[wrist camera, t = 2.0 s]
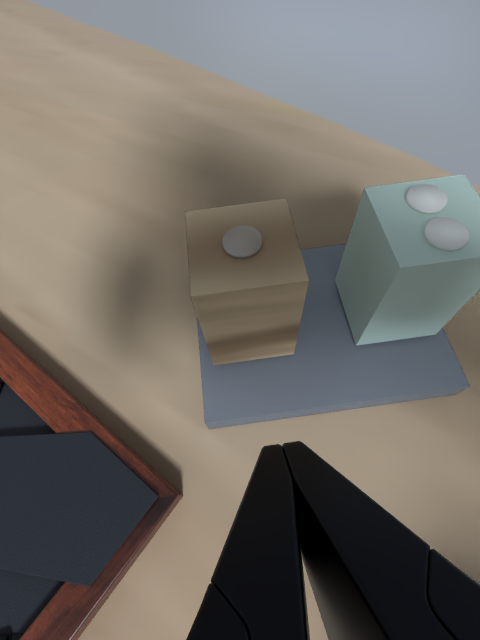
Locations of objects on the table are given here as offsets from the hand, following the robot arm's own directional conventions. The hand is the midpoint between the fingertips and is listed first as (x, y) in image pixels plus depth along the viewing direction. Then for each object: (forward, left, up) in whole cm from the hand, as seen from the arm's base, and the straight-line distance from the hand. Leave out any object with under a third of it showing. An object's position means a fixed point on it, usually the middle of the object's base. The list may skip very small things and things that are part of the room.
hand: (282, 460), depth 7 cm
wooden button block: (+9, +1, -10) cm, 13 cm away
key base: (+9, -3, -11) cm, 15 cm away
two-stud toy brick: (+10, -6, -10) cm, 15 cm away
